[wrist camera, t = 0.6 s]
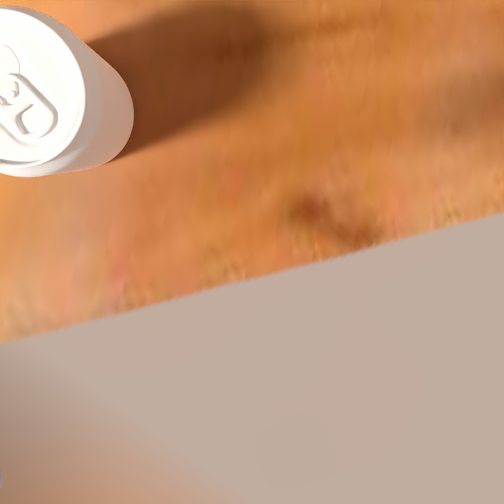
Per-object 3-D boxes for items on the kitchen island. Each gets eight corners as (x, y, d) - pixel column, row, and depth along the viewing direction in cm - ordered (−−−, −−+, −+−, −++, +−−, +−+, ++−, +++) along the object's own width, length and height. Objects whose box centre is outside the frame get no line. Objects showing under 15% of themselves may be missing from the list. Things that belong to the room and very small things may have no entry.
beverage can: (84, 27, 32) (13, -44, 20) (158, 125, 34) (132, 111, 22) (-6, 98, 32) (-127, 68, 21) (72, 191, 34) (1, 212, 22)
